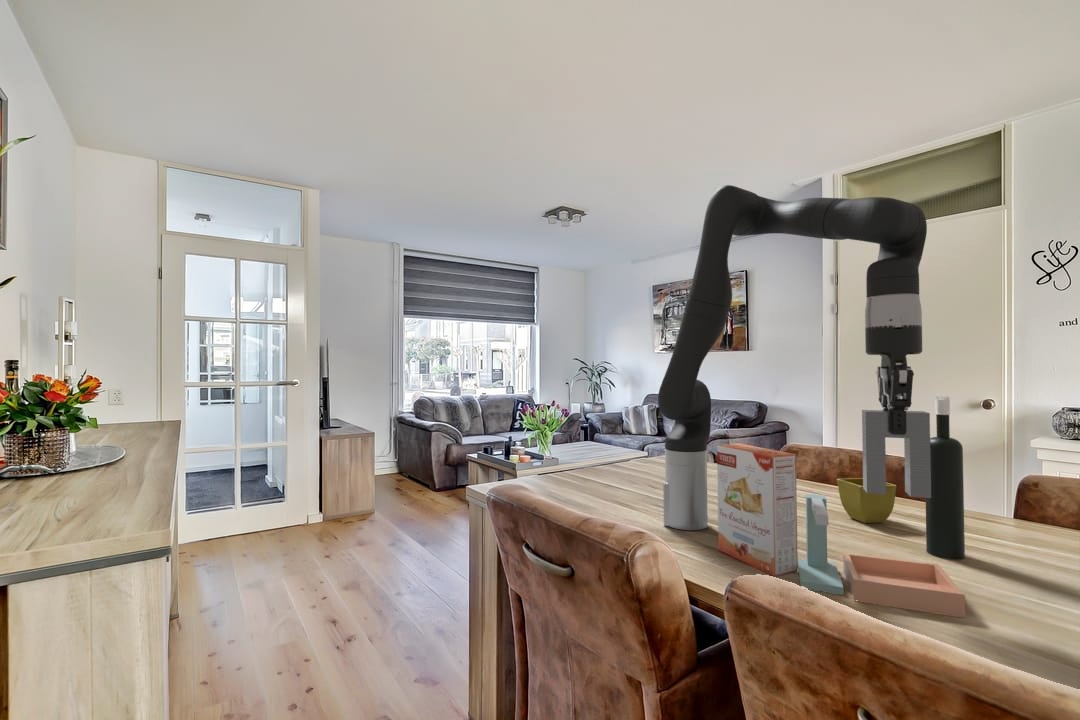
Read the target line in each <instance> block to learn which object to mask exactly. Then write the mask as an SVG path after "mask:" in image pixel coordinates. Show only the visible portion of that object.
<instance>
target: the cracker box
mask: <svg viewBox="0 0 1080 720" xmlns="http://www.w3.org/2000/svg"><path fill="white" fill-rule="evenodd" d="M716 454H717V455H716V456H717V457H716V459H717V461H716V462H717V463H716V464H717V465H716V466H717V468H716V469H717V472H716V473H717V519H718V521H717V529H718V530H717V532H718V533H717V534H718V535H717V536H718V551H720V552H722V553H724V554H726V555H729V556H730V557H732V558H734V559H737V560H739V561H741V562H743V563H745V564H747V565H750V566H751V567H754V568H755V569H758V570H760V571H762V572H763V573H766V574H768V575H770V576H772V575H773V576H772V577H777V576H783V575H788V574H791V573H796V572H798V559H799V557H798V552H799V551H798V504H797V503H798V501H797V499H798V498H797V496H798V495H797V456H796V455H797V454H796V453H790V452H788V451H787V452H785V451H782V450H775V449H771V448H764V447H761V446H760V447H759V446H756V445H749V444H744V443H737V442H736V443H723V444H719V445H717V446H716Z"/></svg>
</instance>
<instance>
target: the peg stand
mask: <svg viewBox="0 0 1080 720" xmlns="http://www.w3.org/2000/svg"><path fill="white" fill-rule="evenodd" d="M827 507H828V506H827V498H826V495H825V494H814V493H805V520H806V525H805V526H806V528H805V530H806V532H805V533H806V534H805V536H806V537H805V538H806V559H805V558H804V559H803V558H798V571H797V572H798V577H799V585H801V586H804V587H806V588H808V589H811V590H810V591H812V590H813V591H814V592H819V591H823V592H822V593H826V592H828V594H832V595H833V594H834V595H839V594H840V596H845V595H844V593H845V591H844V584H843V582H842V579H841V575H840V573H839V570H838V567H837V564H836V563H835V562H829V561H828V527H829V514H828V512H827V511H828V510H827ZM801 586H800V587H801ZM824 591H826V592H824Z"/></svg>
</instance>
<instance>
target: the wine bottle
mask: <svg viewBox="0 0 1080 720" xmlns="http://www.w3.org/2000/svg"><path fill="white" fill-rule="evenodd" d="M934 400H935V405H934V406H935V416H936V418H935V419H936V423H935V424H936V436H933V437H930V461H931V498H925V529H926V530H925V534H926V535H925V537H926V540H925V541H926V545H925V546H926V547H925V548H926V552H927V553H928V554H929V555H932V556H934V557H937V558H941V559H947V560H956V561H957V560H958V561H960V560H964V559H965V557H966V552H965V548H966V547H965V499H964V498H965V496H964V494H965V492H964V489H965V488H964V452H963V451H964V448H963V445H962V443H961V441H959V440H958V439H955V438H954V437H950V435H951V434H950V429H951V428H950V414H951V407H950V406H951V405H950V403H951V402H950V401H951V400H950V397H949V396H935V399H934Z"/></svg>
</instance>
